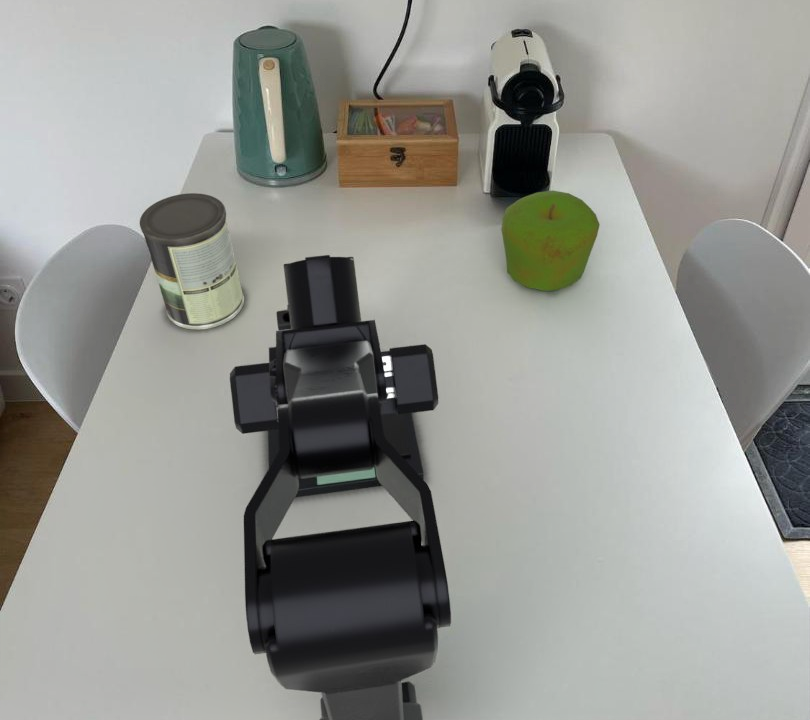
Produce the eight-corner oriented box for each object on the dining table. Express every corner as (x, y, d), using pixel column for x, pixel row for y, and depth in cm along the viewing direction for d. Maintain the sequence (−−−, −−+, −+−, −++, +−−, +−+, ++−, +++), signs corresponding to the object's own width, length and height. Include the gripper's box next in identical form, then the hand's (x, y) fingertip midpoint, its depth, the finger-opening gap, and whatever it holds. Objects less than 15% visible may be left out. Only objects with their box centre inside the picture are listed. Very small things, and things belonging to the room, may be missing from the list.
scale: (424, 480, 85) (423, 471, 84) (270, 501, 84) (268, 491, 82) (400, 365, 98) (400, 355, 97) (268, 381, 97) (266, 371, 96)
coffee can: (153, 326, 105) (124, 234, 95) (185, 278, 112) (161, 189, 103) (228, 334, 103) (206, 242, 94) (255, 286, 111) (237, 196, 101)
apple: (513, 242, 116) (518, 172, 108) (599, 258, 112) (610, 187, 105) (487, 293, 108) (491, 221, 100) (579, 312, 104) (589, 239, 96)
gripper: (432, 280, 69) (416, 302, 85) (211, 304, 68) (236, 323, 83) (448, 410, 69) (429, 408, 84) (226, 437, 67) (248, 431, 83)
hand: (336, 390), depth 83 cm, fingers closed on can, 6 cm apart
